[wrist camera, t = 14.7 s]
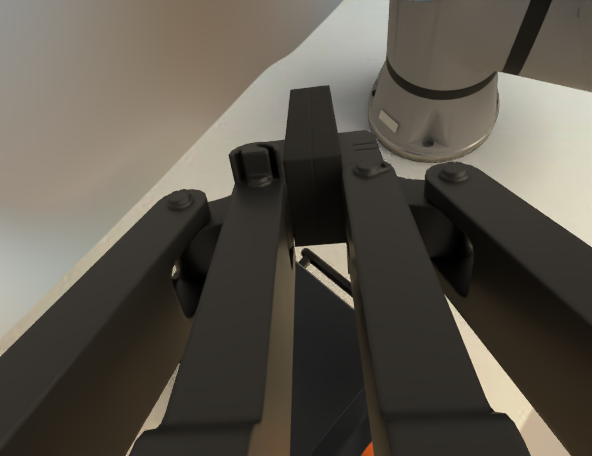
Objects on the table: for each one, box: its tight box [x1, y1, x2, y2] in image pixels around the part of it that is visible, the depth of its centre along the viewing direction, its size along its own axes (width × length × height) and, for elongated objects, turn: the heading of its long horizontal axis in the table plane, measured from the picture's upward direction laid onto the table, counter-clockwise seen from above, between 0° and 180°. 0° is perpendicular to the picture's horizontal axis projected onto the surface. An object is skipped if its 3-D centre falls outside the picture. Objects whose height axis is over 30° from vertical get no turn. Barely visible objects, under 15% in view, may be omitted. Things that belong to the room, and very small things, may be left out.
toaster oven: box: [179, 248, 372, 456], centre depth 36 cm, size 17×14×11 cm
